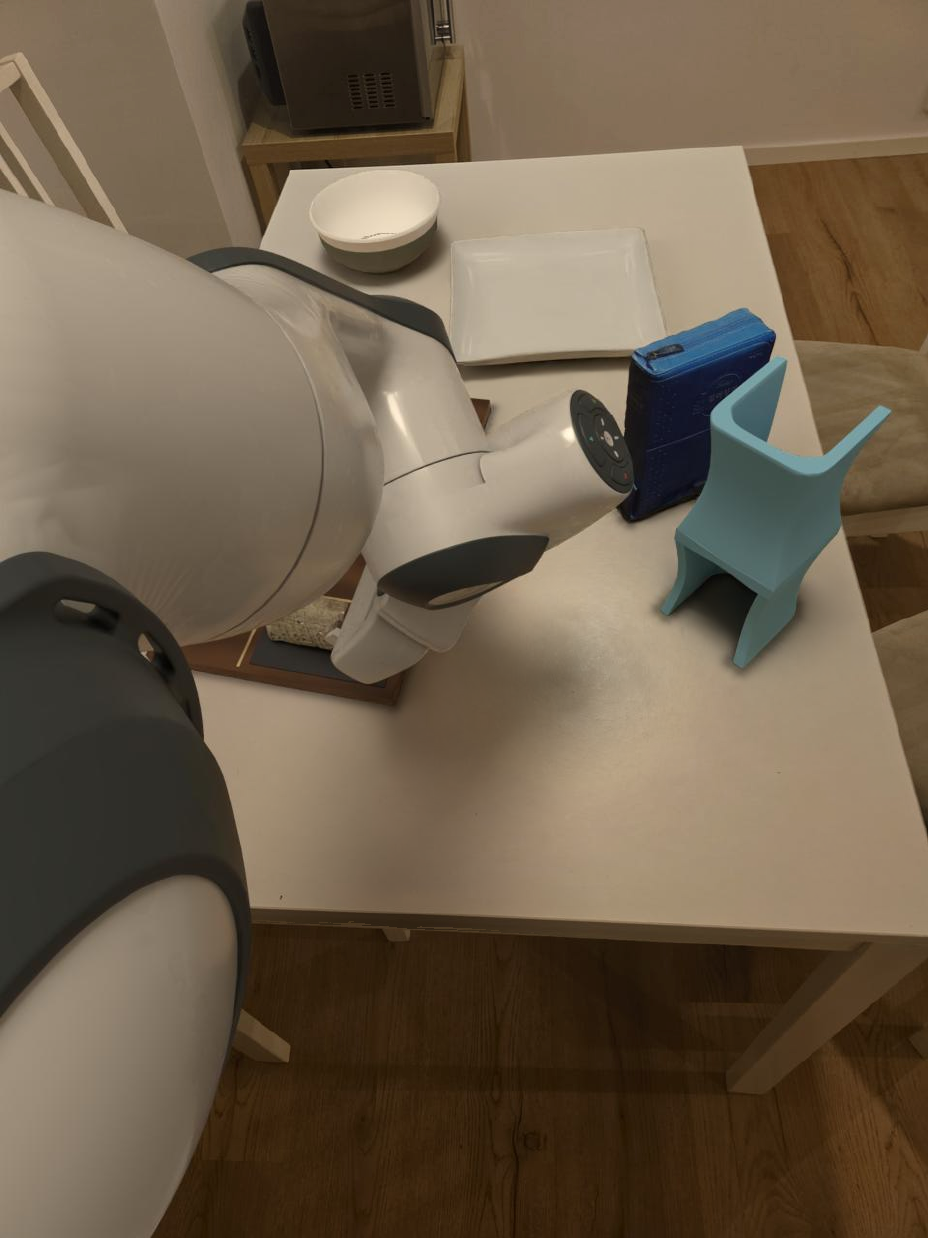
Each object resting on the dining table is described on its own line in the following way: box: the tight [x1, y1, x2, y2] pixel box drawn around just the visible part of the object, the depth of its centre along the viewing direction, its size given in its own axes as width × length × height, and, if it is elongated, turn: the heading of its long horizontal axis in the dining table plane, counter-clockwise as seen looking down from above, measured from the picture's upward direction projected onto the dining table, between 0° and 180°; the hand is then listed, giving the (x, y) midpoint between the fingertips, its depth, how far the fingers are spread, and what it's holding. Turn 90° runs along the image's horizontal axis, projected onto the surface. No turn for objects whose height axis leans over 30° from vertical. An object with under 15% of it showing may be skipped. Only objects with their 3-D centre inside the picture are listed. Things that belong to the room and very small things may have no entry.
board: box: [145, 397, 492, 707], centre depth 90 cm, size 42×26×2 cm, turn 166°
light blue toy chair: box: [659, 354, 893, 670], centre depth 70 cm, size 10×10×25 cm
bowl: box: [308, 169, 442, 275], centre depth 116 cm, size 19×19×8 cm
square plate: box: [448, 227, 670, 367], centre depth 107 cm, size 27×27×4 cm
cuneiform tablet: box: [266, 597, 350, 651], centre depth 77 cm, size 7×4×12 cm
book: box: [616, 307, 777, 521], centre depth 81 cm, size 14×5×20 cm, turn 115°
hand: (351, 593), depth 70 cm, fingers open, 8 cm apart
